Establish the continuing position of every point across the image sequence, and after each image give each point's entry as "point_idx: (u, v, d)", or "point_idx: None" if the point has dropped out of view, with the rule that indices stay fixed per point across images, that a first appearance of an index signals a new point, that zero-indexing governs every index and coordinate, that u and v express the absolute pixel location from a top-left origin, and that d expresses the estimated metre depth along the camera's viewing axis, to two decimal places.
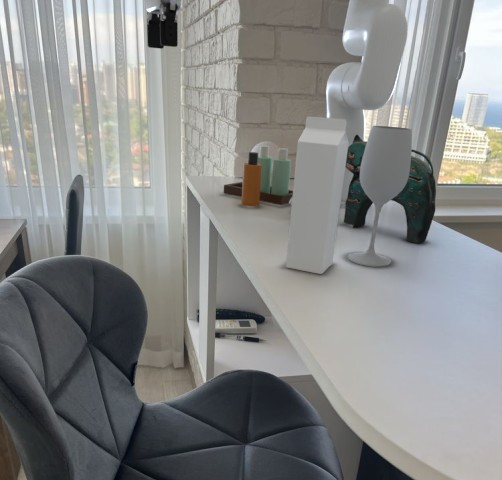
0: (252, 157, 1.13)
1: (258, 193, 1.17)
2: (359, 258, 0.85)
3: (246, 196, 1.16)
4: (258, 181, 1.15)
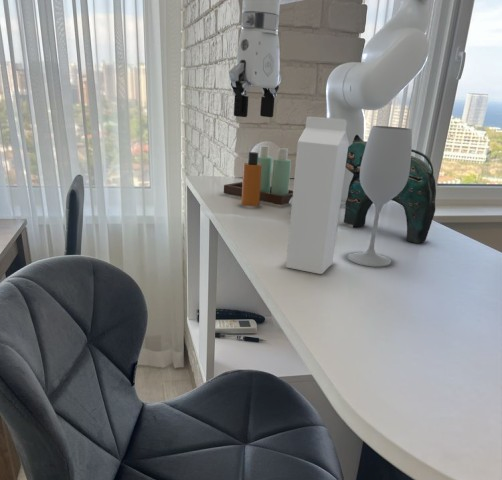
0: (252, 157, 1.13)
1: (258, 193, 1.17)
2: (359, 258, 0.85)
3: (246, 196, 1.16)
4: (258, 181, 1.15)
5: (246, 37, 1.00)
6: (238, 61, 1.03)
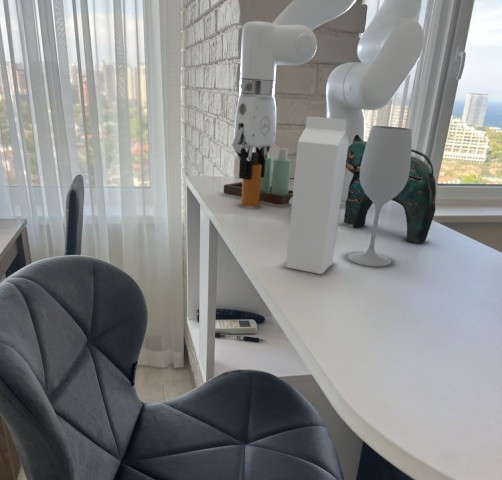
0: (252, 157, 1.13)
1: (258, 193, 1.17)
2: (359, 258, 0.85)
3: (246, 196, 1.16)
4: (258, 181, 1.15)
5: (244, 102, 1.06)
6: (236, 124, 1.08)
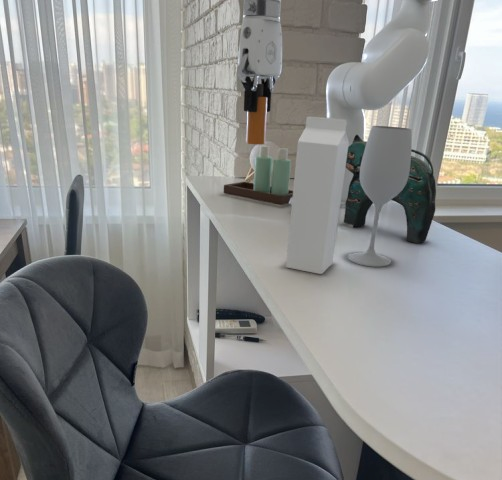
0: (257, 88, 1.07)
1: (264, 128, 1.11)
2: (359, 258, 0.85)
3: (252, 131, 1.10)
4: (264, 115, 1.09)
5: (248, 25, 1.00)
6: (241, 49, 1.02)
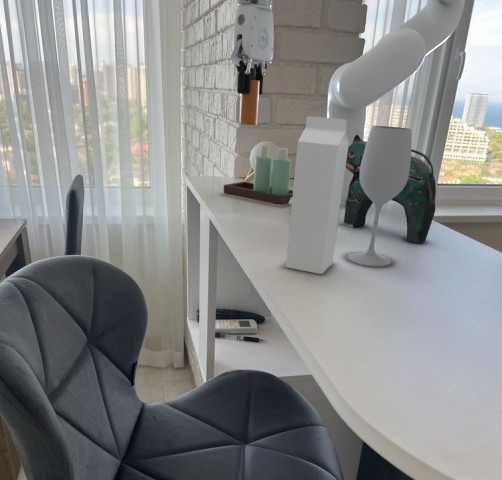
0: (250, 72, 1.16)
1: (256, 109, 1.19)
2: (359, 258, 0.85)
3: (245, 112, 1.19)
4: (256, 97, 1.18)
5: (242, 12, 1.08)
6: (235, 35, 1.10)
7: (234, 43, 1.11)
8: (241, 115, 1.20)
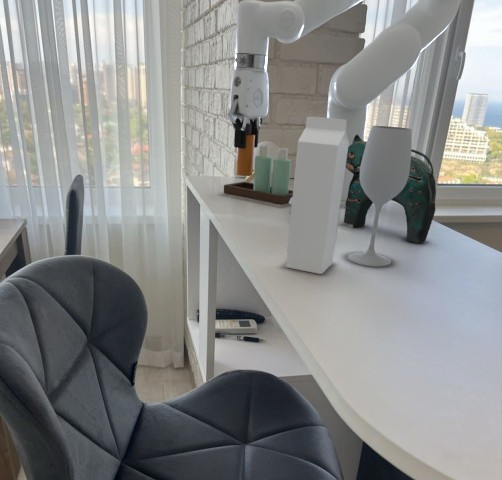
0: (246, 127, 1.22)
1: (251, 162, 1.26)
2: (359, 258, 0.85)
3: (241, 164, 1.25)
4: (251, 150, 1.24)
5: (238, 75, 1.15)
6: (232, 95, 1.17)
7: (231, 102, 1.18)
8: (237, 167, 1.26)
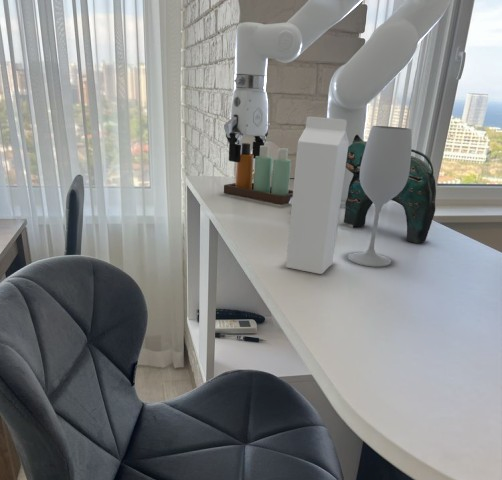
0: (244, 147, 1.24)
1: (250, 180, 1.28)
2: (359, 258, 0.85)
3: (240, 183, 1.27)
4: (250, 169, 1.26)
5: (238, 95, 1.17)
6: (232, 115, 1.19)
7: None
8: (237, 185, 1.28)
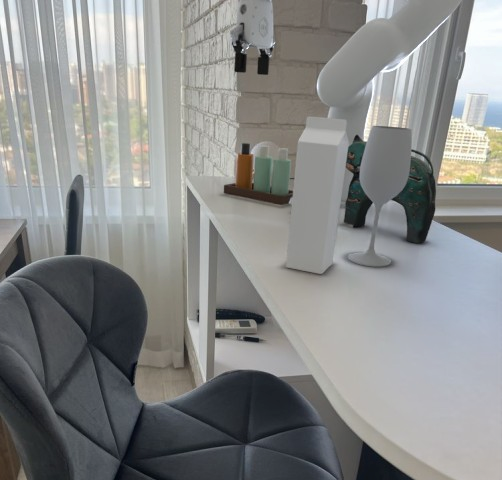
0: (244, 147, 1.24)
1: (250, 180, 1.28)
2: (359, 258, 0.85)
3: (240, 183, 1.27)
4: (250, 169, 1.26)
5: (244, 2, 1.18)
6: (238, 24, 1.21)
7: None
8: (237, 185, 1.28)
